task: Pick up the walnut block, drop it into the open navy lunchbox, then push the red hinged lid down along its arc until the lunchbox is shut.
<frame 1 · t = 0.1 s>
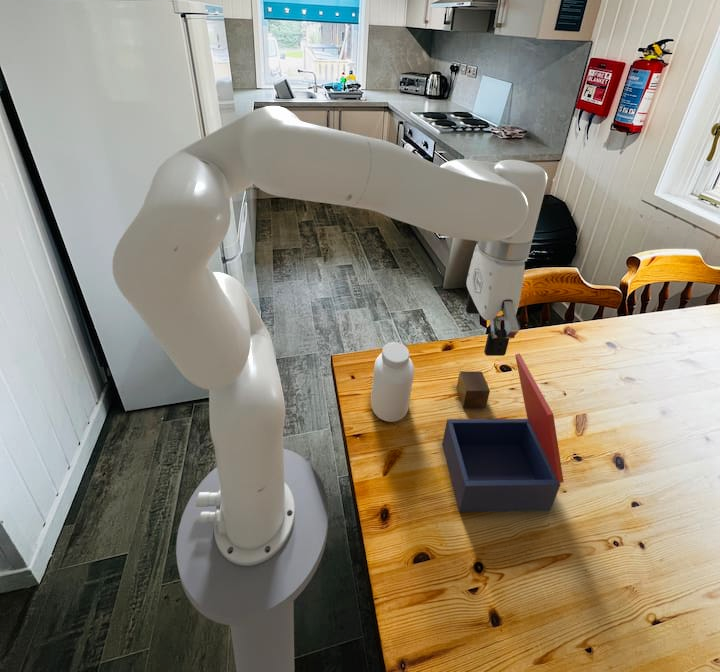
hand: (483, 332, 66), 27 cm above the table, tool pointing down, fingers open, 9 cm apart
lunchbox lid: (538, 416, 65), point 15 cm above the table, hinge at 70.0°
pill bottle: (389, 406, 82), on the table
lunchbox: (492, 475, 71), on the table
block: (470, 397, 85), on the table
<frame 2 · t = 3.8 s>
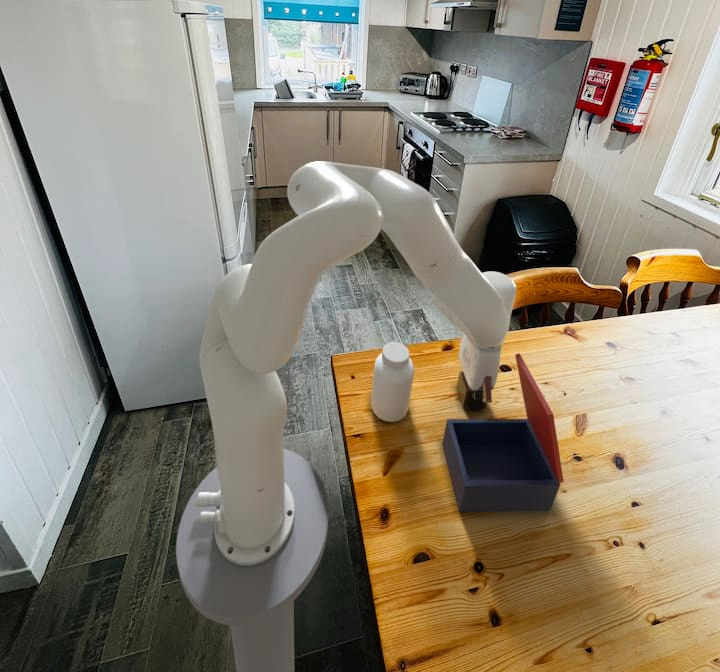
hand: (470, 396, 85), 0 cm above the table, tool pointing down, fingers closed on block, 5 cm apart
block: (470, 397, 85), on the table, touching gripper
everything else where it was.
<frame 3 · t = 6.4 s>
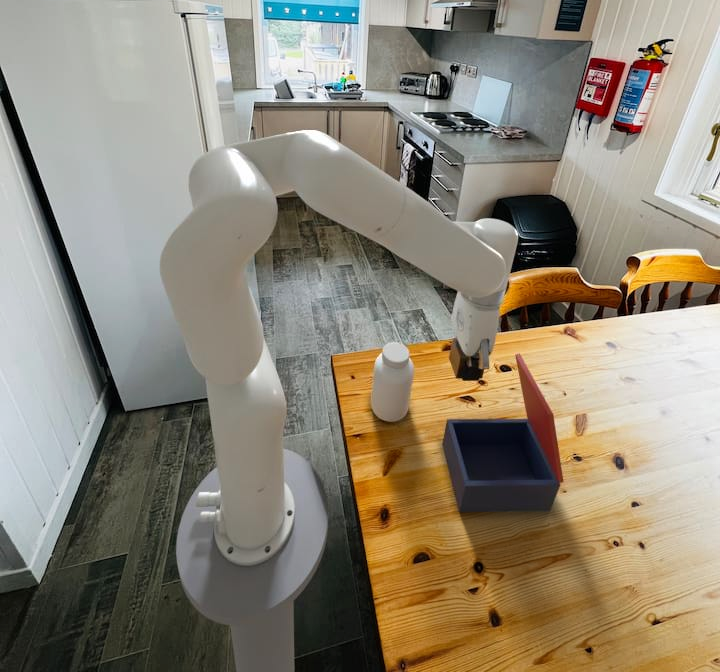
hand: (465, 366, 75), 14 cm above the table, tool pointing down, fingers closed on block, 5 cm apart
block: (465, 368, 75), point 14 cm above the table, touching gripper
everything else where it was.
when the fingers open (10 cm above the table, at t = 9.0 s): block drops 9 cm, resting on lunchbox.
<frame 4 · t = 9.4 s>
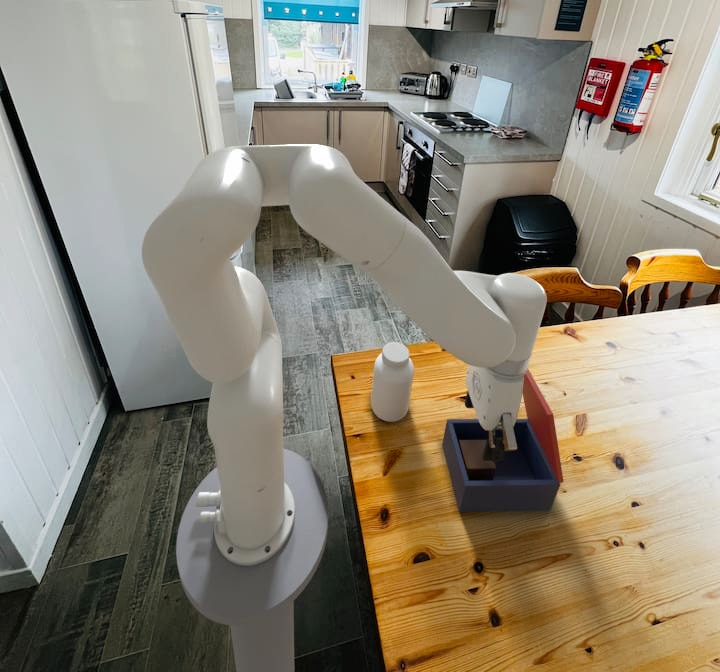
hand: (482, 430, 66), 11 cm above the table, tool pointing down, fingers open, 8 cm apart
block: (472, 472, 70), point 1 cm above the table, touching lunchbox
everything else where it was.
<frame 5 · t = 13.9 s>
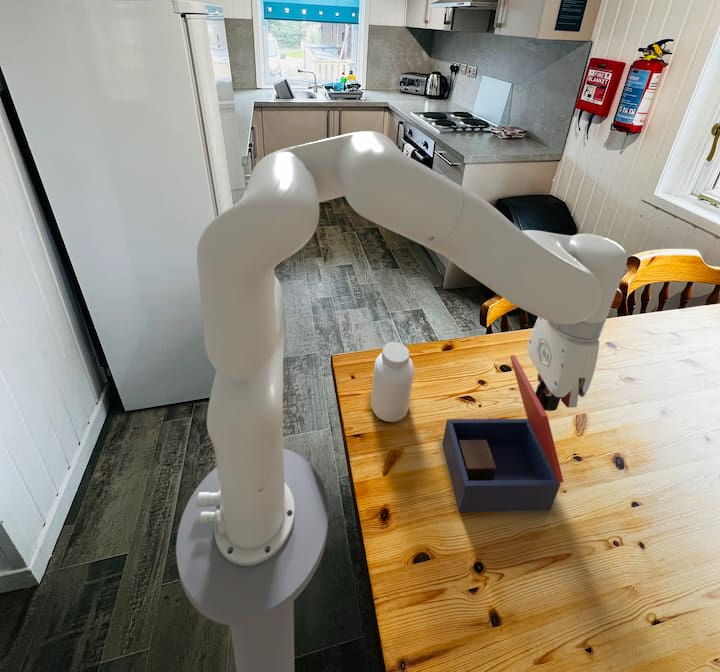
hand: (544, 406, 64), 17 cm above the table, tool pointing down, fingers closed
lunchbox lid: (535, 416, 65), point 15 cm above the table, hinge at 66.9°
everything else where it was.
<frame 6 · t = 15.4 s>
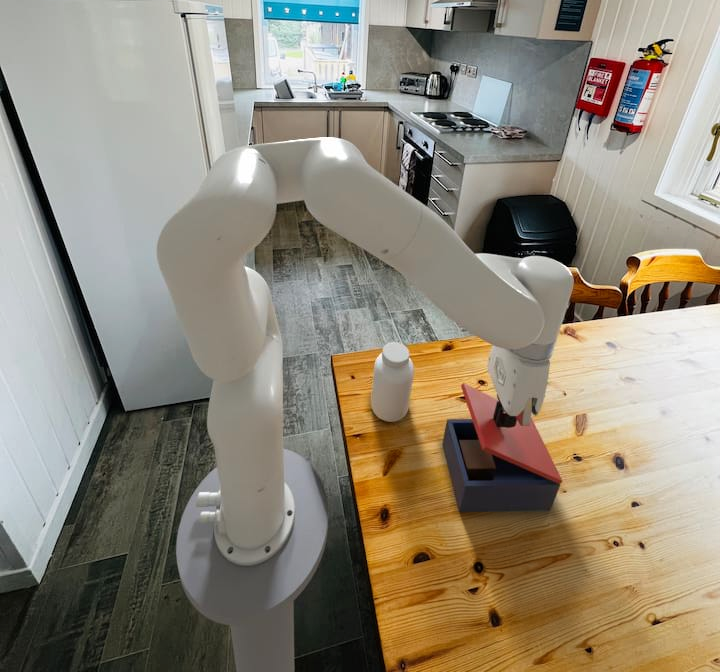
hand: (503, 422, 65), 13 cm above the table, tool pointing down, fingers closed
lunchbox lid: (509, 431, 66), point 11 cm above the table, hinge at 30.3°, touching gripper
everything else where it was.
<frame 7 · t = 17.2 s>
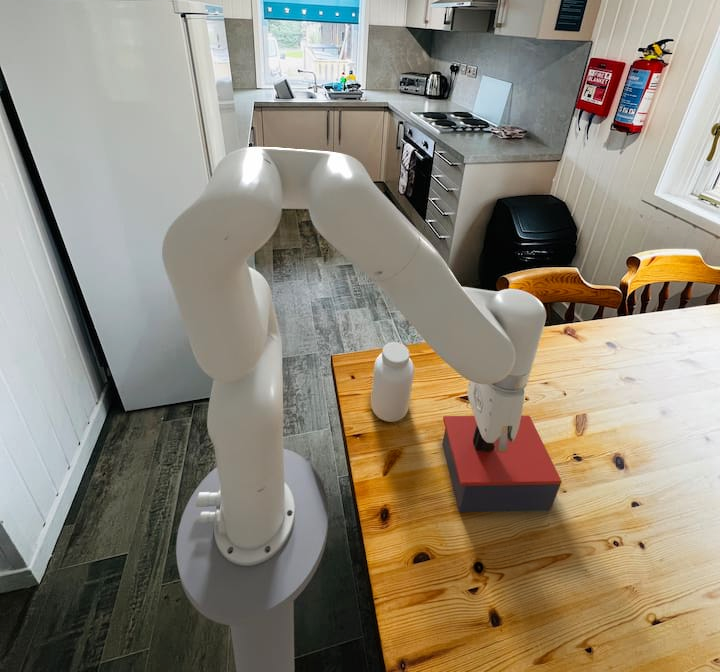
hand: (482, 446, 67), 8 cm above the table, tool pointing down, fingers closed
lunchbox lid: (498, 447, 68), point 7 cm above the table, hinge at 0.0°, touching gripper
everything else where it was.
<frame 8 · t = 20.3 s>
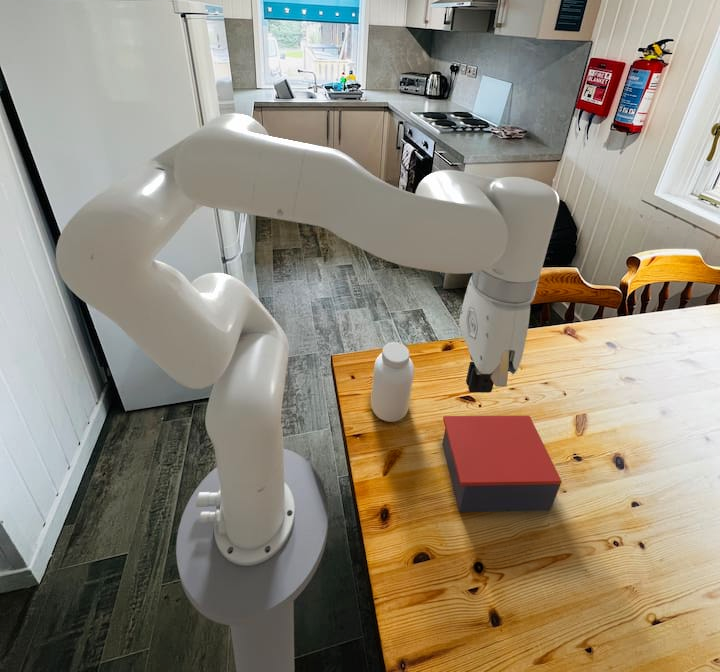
hand: (478, 387, 55), 27 cm above the table, tool pointing down, fingers closed
lunchbox lid: (498, 447, 68), point 7 cm above the table, hinge at 0.0°
everything else where it was.
at the end: block inside the target area in the lunchbox (3.8 cm from its centre), point 0.8 cm above the lunchbox's base; lunchbox lid at +0° (first picture: +70°) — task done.
